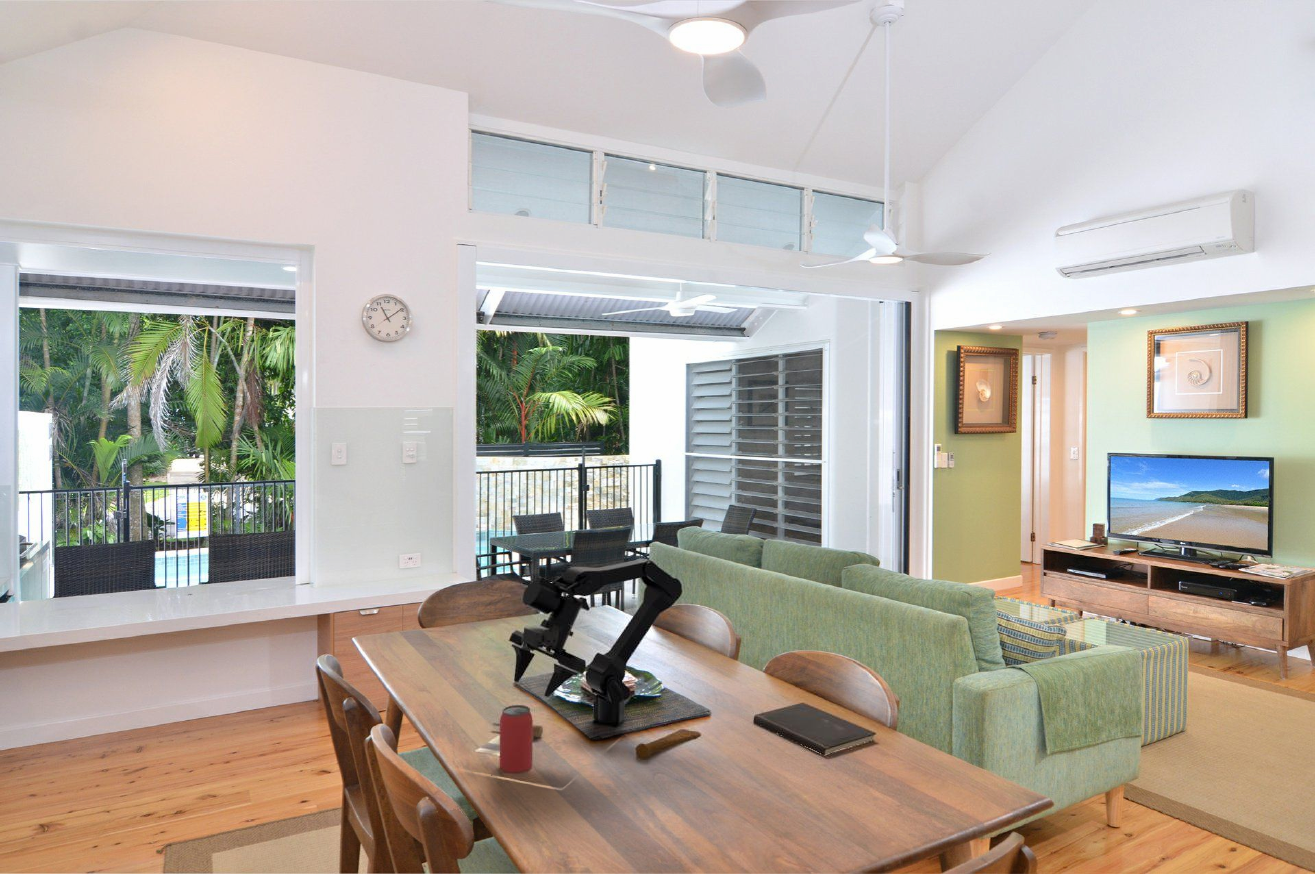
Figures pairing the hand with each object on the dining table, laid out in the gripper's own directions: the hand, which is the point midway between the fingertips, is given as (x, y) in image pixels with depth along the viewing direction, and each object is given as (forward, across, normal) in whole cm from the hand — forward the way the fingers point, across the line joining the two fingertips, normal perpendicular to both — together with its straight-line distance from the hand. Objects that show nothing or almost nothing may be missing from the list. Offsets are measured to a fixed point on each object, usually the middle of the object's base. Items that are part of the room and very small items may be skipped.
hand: (530, 689), depth 179 cm
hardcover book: (-15, +48, +41) cm, 65 cm away
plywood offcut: (+12, -2, +4) cm, 13 cm away
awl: (+10, -4, +7) cm, 13 cm away
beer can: (+15, +8, -4) cm, 17 cm away
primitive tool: (0, +26, +20) cm, 33 cm away
